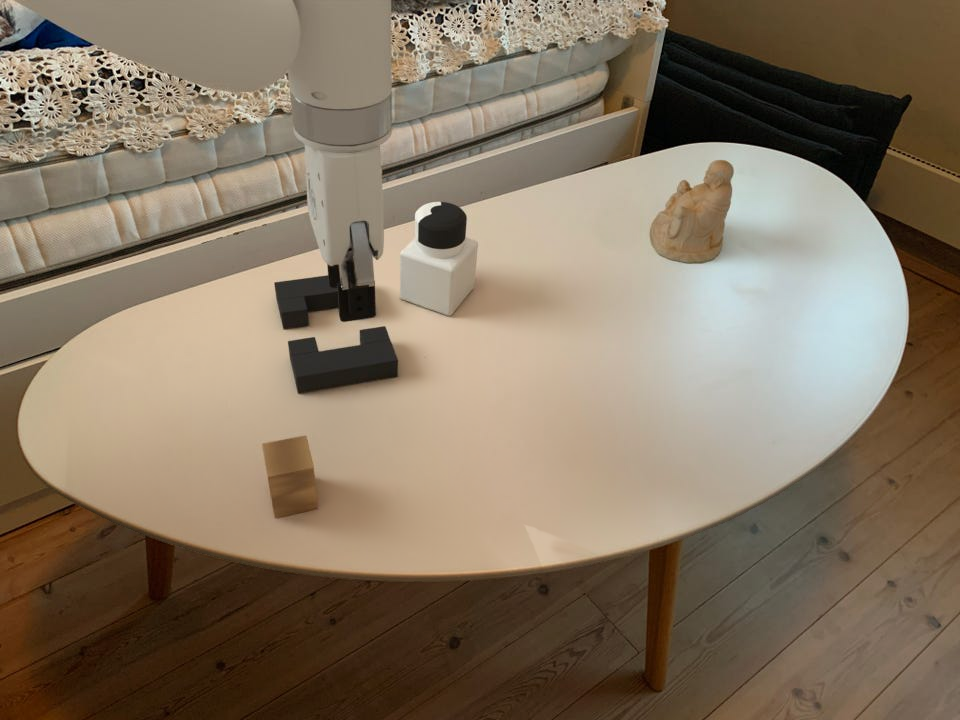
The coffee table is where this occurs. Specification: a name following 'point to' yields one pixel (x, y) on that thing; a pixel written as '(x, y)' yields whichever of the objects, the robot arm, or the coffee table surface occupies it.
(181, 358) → the coffee table surface
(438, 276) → the medicine bottle
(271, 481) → the key
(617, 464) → the coffee table surface
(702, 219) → the statue
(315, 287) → the pad back
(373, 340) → the pad front
